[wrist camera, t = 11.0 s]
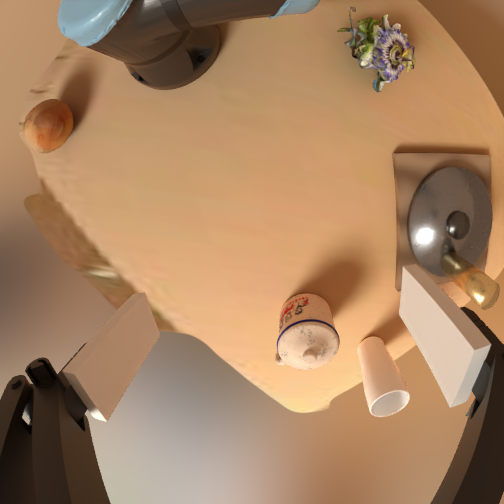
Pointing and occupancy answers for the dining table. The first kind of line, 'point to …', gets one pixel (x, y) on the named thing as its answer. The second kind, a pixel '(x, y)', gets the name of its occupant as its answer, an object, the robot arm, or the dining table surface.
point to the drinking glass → (381, 378)
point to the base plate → (406, 183)
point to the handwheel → (453, 230)
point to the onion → (48, 125)
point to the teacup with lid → (306, 333)
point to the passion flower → (381, 49)
